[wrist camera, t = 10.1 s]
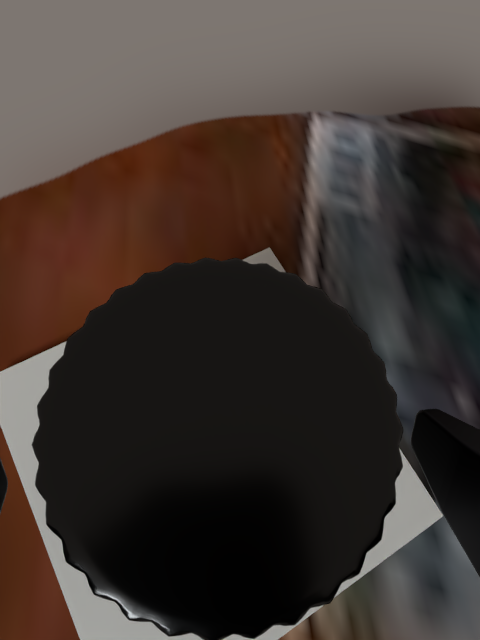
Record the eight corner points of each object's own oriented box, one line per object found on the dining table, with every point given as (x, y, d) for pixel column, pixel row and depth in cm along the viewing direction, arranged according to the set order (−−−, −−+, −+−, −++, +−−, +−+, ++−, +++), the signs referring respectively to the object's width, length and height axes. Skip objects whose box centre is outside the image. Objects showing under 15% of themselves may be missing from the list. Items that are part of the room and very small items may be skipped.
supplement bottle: (313, 513, 16) (593, 641, 4) (143, 573, 15) (-59, 956, 3) (262, 352, 18) (364, 164, 7) (109, 393, 17) (-87, 249, 5)
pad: (430, 513, 17) (443, 515, 16) (128, 734, 14) (123, 755, 13) (266, 257, 21) (269, 247, 20) (-5, 383, 17) (-17, 379, 16)
